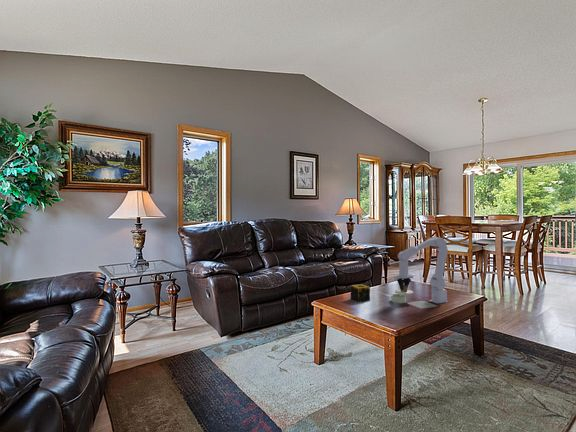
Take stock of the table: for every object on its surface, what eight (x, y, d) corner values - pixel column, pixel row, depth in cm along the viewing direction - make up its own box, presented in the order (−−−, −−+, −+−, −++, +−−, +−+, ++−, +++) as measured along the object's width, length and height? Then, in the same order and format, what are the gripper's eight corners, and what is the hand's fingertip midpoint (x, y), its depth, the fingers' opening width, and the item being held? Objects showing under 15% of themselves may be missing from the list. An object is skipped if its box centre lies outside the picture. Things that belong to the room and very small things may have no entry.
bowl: (399, 299, 226) (399, 293, 226) (409, 303, 218) (409, 296, 218) (388, 301, 223) (388, 294, 223) (397, 304, 214) (397, 297, 214)
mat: (422, 301, 221) (422, 300, 221) (438, 306, 208) (438, 306, 208) (406, 303, 216) (406, 302, 216) (421, 309, 203) (421, 308, 203)
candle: (350, 299, 230) (349, 285, 230) (362, 297, 234) (362, 283, 234) (358, 302, 221) (357, 288, 221) (370, 301, 224) (370, 286, 224)
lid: (405, 289, 226) (404, 283, 226) (417, 293, 215) (417, 286, 215) (390, 291, 222) (390, 284, 222) (402, 295, 211) (402, 287, 211)
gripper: (398, 271, 212) (399, 291, 212) (416, 269, 217) (416, 289, 217) (391, 269, 219) (392, 289, 219) (409, 267, 224) (409, 287, 224)
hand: (403, 289), depth 218 cm, fingers closed on lid, 3 cm apart
